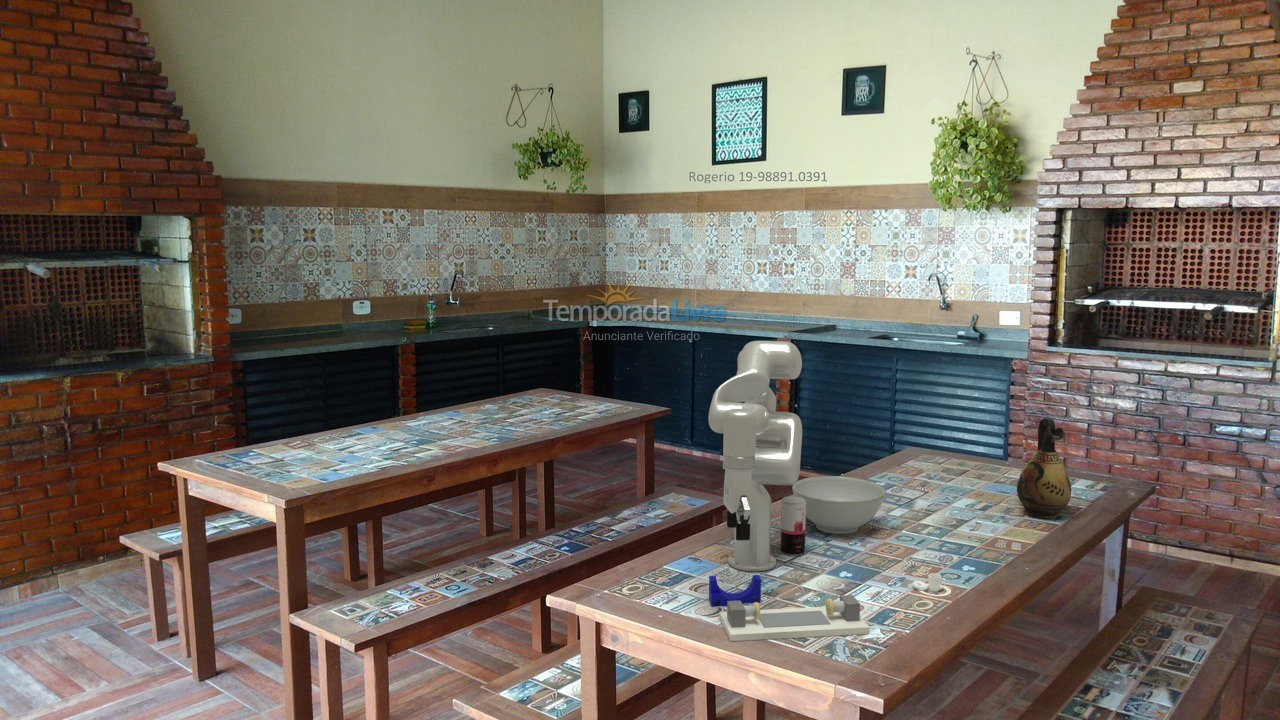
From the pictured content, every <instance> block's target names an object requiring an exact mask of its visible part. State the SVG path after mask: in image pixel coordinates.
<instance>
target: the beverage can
mask: <svg viewBox="0 0 1280 720" xmlns="http://www.w3.org/2000/svg"><path fill="white" fill-rule="evenodd" d="M781 499H782V500H781V506H780V507H781V513H780V514H781V515H780V552H781V553H782V554H783V555H785V554H786V555H785V556H788V555H790V556H791V557H799V555H800V556H802V555H803V554H805V552H806V520H807V519H806V518H807V517H806V502H805V499H804V498H802V497H796V496H794V495H793V496H792V495H788V496H784V497H782V498H781Z"/></svg>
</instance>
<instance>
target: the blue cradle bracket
mask: <svg viewBox="0 0 1280 720" xmlns="http://www.w3.org/2000/svg"><path fill="white" fill-rule="evenodd" d="M761 594H762V579H761V577H760V575H759V574H753V575H752V578H751V581H750V583H749V585H748V586H747V587H746V588H745V589H744V590H742V591H740V592H736V593H735V592H727V591H725V590H723V589H722V588H721V587H720V586H719V585H718V579H717V577H716V575H709V576H708V601H709V603H710V607H713V608H714V607H716V608H718V607H727V601H741V602H742V604H753V603H754V602H758V603H759V604H761V603H762V601H761V599H762V595H761Z"/></svg>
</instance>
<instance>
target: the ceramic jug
mask: <svg viewBox="0 0 1280 720" xmlns="http://www.w3.org/2000/svg"><path fill="white" fill-rule="evenodd" d="M1064 437H1065V432H1064V429H1063V428H1062V427H1057V428H1056V424H1055V420H1054V419H1053V418H1051V417H1043V418H1042V419H1041V420H1039V423H1038V429H1037V452H1036V453H1035V454H1034V456H1033V457H1032V458H1031V459H1030V460H1029V461H1028V463H1026V465H1025V466H1024V468H1023V469H1022V471H1021V472H1020V475H1019V478H1018V479H1017V480H1018V481H1017V483H1016V493H1017V497H1018V500H1019V501H1020V503H1021V505H1022V506H1023V507H1024V513H1025V514H1026V515H1027V516H1028V517H1030V518H1035V519H1036V518H1037V519H1039V520H1040V519H1041V520H1050V519H1051V520H1052V519H1053V520H1054V519H1056V518H1057V516H1058V515H1059V513H1060V512H1062V510H1064V508H1066V507H1067V506H1068V505H1069V503H1070V500H1071V497H1072V484H1071V483H1072V482H1071V479H1070V476H1069V473H1068V471H1067V469H1066V466H1065V464H1064V463H1063V461H1062V459H1061V457H1060V456H1059V454H1058V452H1057V450H1056V441H1060V440H1063V439H1064Z"/></svg>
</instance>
